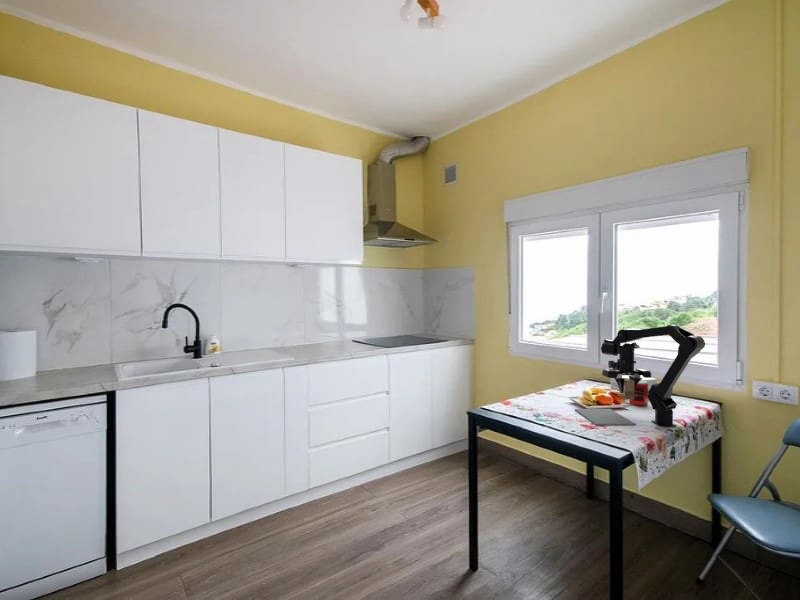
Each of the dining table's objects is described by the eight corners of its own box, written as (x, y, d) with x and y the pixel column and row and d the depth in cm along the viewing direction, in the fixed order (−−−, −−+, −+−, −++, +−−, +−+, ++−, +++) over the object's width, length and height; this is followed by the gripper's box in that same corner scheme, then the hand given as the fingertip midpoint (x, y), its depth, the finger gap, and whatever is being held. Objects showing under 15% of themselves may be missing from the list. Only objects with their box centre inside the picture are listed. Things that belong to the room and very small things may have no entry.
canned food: (642, 401, 197) (642, 379, 196) (651, 406, 189) (651, 383, 188) (626, 401, 197) (626, 379, 197) (633, 406, 189) (634, 383, 189)
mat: (635, 425, 164) (635, 423, 164) (596, 425, 164) (596, 423, 164) (610, 410, 184) (610, 408, 184) (574, 410, 184) (574, 409, 184)
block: (634, 399, 175) (634, 381, 175) (625, 399, 175) (625, 381, 175) (626, 395, 181) (626, 377, 181) (618, 395, 181) (618, 377, 181)
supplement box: (637, 390, 218) (637, 373, 218) (657, 397, 205) (657, 378, 205) (609, 392, 215) (609, 375, 214) (628, 399, 202) (628, 380, 201)
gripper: (637, 354, 185) (636, 388, 186) (596, 354, 185) (596, 388, 186) (652, 358, 174) (651, 394, 175) (608, 358, 174) (608, 394, 175)
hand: (626, 392), depth 178 cm, fingers closed on block, 4 cm apart
